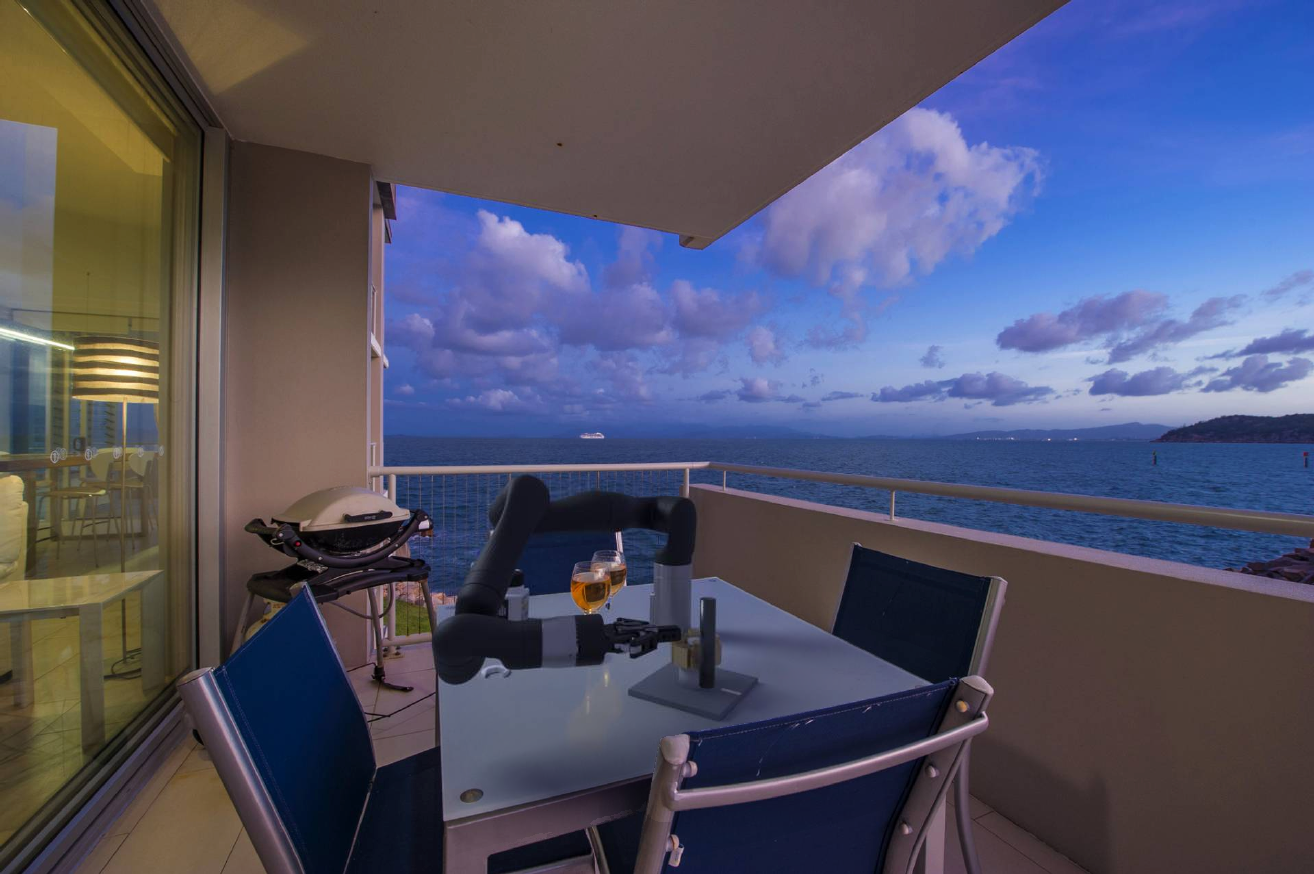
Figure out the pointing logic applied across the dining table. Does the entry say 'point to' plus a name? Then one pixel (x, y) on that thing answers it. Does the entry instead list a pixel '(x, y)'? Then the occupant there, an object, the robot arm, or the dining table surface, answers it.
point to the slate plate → (694, 690)
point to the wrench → (495, 670)
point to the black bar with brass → (700, 646)
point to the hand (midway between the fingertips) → (679, 632)
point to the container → (515, 600)
